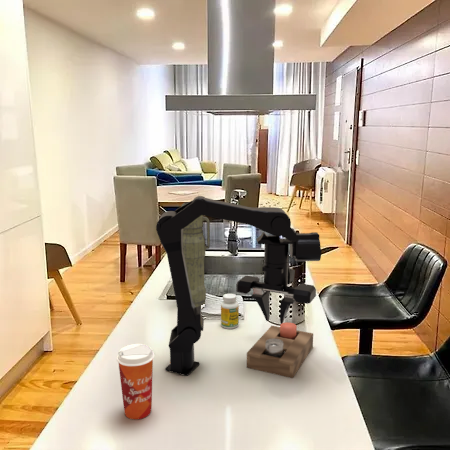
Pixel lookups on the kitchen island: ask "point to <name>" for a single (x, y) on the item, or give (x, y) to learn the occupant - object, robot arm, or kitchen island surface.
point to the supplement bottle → (229, 311)
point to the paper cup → (136, 379)
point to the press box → (289, 360)
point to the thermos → (196, 257)
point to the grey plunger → (274, 348)
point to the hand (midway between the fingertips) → (274, 321)
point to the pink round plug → (288, 330)
